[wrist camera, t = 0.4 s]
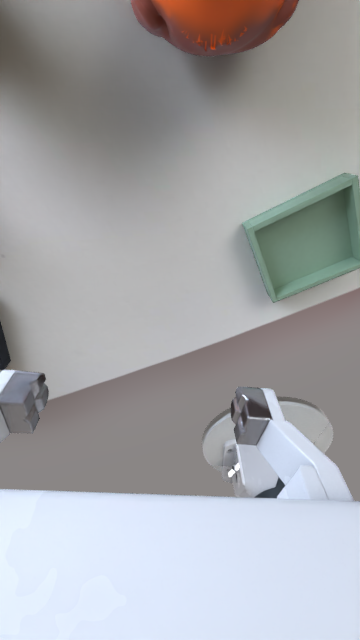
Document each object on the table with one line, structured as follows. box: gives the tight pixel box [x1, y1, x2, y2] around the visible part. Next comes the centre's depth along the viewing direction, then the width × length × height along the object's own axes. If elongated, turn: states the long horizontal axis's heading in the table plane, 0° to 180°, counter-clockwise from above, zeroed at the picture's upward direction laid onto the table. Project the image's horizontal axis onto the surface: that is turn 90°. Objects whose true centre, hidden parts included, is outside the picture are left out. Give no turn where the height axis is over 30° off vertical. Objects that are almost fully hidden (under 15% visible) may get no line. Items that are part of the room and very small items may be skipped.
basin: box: [242, 173, 360, 303], centre depth 31 cm, size 11×10×2 cm
